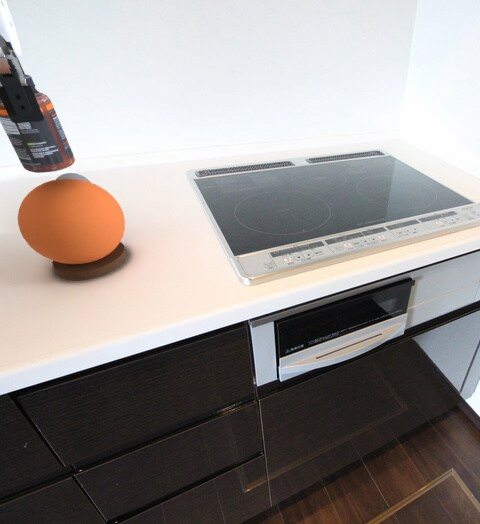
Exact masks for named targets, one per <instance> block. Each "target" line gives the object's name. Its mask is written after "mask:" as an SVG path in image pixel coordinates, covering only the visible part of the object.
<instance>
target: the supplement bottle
mask: <svg viewBox="0 0 480 524" xmlns="http://www.w3.org/2000/svg"><path fill="white" fill-rule="evenodd" d="M23 75H24V78H25V80H26V82H27V85H31V88H32V90H33V92H34V95H35V97H36V100H37V102H38V104H39V107H40V109H41V111H42V114H43V116H44V120H43V121H37V122H26V123H13V122H12V121H11V120H10V118H9V116H8V113H7V111H6V109H5V107H4V105H3V103H2V101H1V99H0V124H1V126H2V128H3V130H4V132H5V134H6V136H7V138H8V140H9V142H10V144H11V146H12V148H13V151H14V152H15V154H16V156H17V157H18V160H19V162H20V164H21V165H22V167H23V169H24V170H26V171H28V172H31V173H35V174H36V173H37V174H42V173H53V172H54V173H55V172H57V171H62V170H65V169H68V168H70V167H71V166H73V165H74V163H75V162H76V159H75V156H74V152H73V150H72V148H71V146H70V143H69V141H68V138H67V136H66V133H65V131H64V128H63V127H62V124H61V122H60V118H59V117H58V114H57V112H56V110H55V107H54V105H53V102H52V100H51V98H50V97H49V96H48V95H46V94H45V93H43V92H40V91H39V90H37V88H36V84H35V82H34V80H33V78H32V76H31V75H30V74H26V73H25V74H23ZM17 76H18V75H17Z"/></svg>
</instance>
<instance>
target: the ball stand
mask: <svg viewBox="0 0 480 524" xmlns="http://www.w3.org/2000/svg"><path fill="white" fill-rule="evenodd" d="M17 225H18V229H19V232H20V234H21V236H22V239H24V241H25V242H26V244H27V245H28V246H29V247H30V248H31V249H32V250H34V251H35V252H36V253H37V254H39V255H40V256H42V257H43V258H46V259H48V260H50V261H51V264H52V267H53V269H54V272H55V273H56V274H57V276H58V277H59V278H61V279H64V280H67V281H68V280H69V281H86V280H92V279H95V278H100V277H102V276H105V275H107V274H110V273H112V272H114V271H116V270H117V269H119V267H121V266H122V265H123V264H124V263H125V261H126V260H127V258H128V253H127V250H126V248H125V245H124V243H123V242H121V241H122V239H123V237H124V233H125V230H126V229H125V228H126V219H125V215H124V212H123V209H122V207H121V205H120V203H119V202H118V201H117V200H116V198H115V197H114V196H113V195H112V194H111V193H110V192H109V191H107V189H104V188H103V187H101V186H100V185H98V184H96V183H93V182H91V181H90V182H88V181H84V180H79V179H70V178H66V179H57V178H55V179H51V180H48V181H45V182H43V183H41V184H39V185H37V186H35V187H34V188H33V189H31V190H30V191H29V192H28V193H27V194H26V196H25V197H24V198H23V200H22V201H21V203H20V205H19V207H18V211H17Z"/></svg>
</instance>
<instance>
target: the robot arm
mask: <svg viewBox="0 0 480 524" xmlns="http://www.w3.org/2000/svg"><path fill="white" fill-rule="evenodd" d="M22 54H23V53H22V47H21V43H20V39H19V35H18V32H17V29H16V25H15V23H14V19H13V16H12V13H11V11H10V8H9V5H8V2H7V0H0V99H1V101H2V103H3V105H4V107H5V109H6V111H7V113H8V116H9V118H10V120H11V121H12V122H13V123H26V122H37V121H43V120H44V116H43V114H42V111H41V109H40V107H39V104H38V102H37V100H36V97H35V95H34V92H33V90H32V88H31V85H27V82H26V80H25V78H24V75H23V74H26V73H25V70H24V68H23V66H22V63H21V61H20V59H19V57H21V56H22ZM17 75H18V76H17Z"/></svg>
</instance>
